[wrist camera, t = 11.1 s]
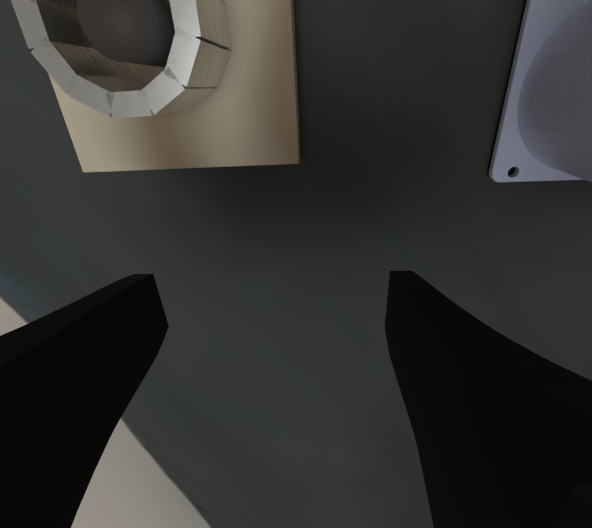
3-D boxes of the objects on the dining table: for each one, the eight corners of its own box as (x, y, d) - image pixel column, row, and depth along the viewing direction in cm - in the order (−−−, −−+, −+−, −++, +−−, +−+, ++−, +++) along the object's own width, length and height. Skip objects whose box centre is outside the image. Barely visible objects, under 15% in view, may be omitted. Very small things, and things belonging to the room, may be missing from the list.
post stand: (286, -155, 12) (266, -294, 8) (300, 157, 17) (293, 182, 13) (7, -121, 13) (-155, -228, 9) (100, 166, 18) (29, 191, 14)
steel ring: (217, -69, 12) (175, -132, 9) (238, 106, 15) (212, 112, 11) (69, -54, 13) (-29, -108, 9) (115, 113, 15) (54, 120, 12)
